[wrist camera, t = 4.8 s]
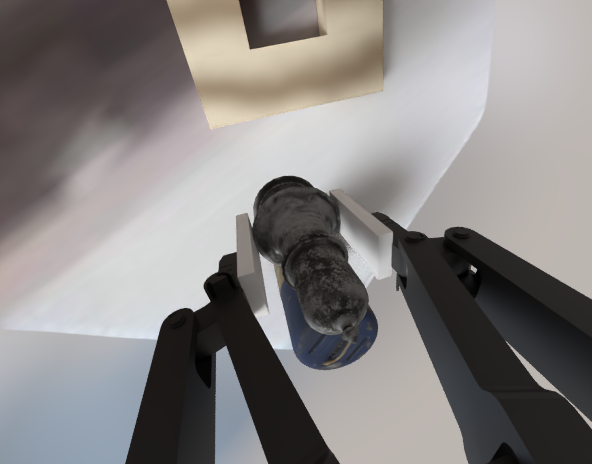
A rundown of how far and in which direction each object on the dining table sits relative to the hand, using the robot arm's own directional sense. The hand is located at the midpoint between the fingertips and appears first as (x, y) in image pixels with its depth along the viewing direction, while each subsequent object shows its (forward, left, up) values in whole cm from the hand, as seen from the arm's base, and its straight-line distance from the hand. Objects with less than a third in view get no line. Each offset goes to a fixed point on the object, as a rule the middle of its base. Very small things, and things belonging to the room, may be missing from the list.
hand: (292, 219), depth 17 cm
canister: (+15, +2, -17) cm, 23 cm away
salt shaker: (0, 0, -2) cm, 2 cm away
